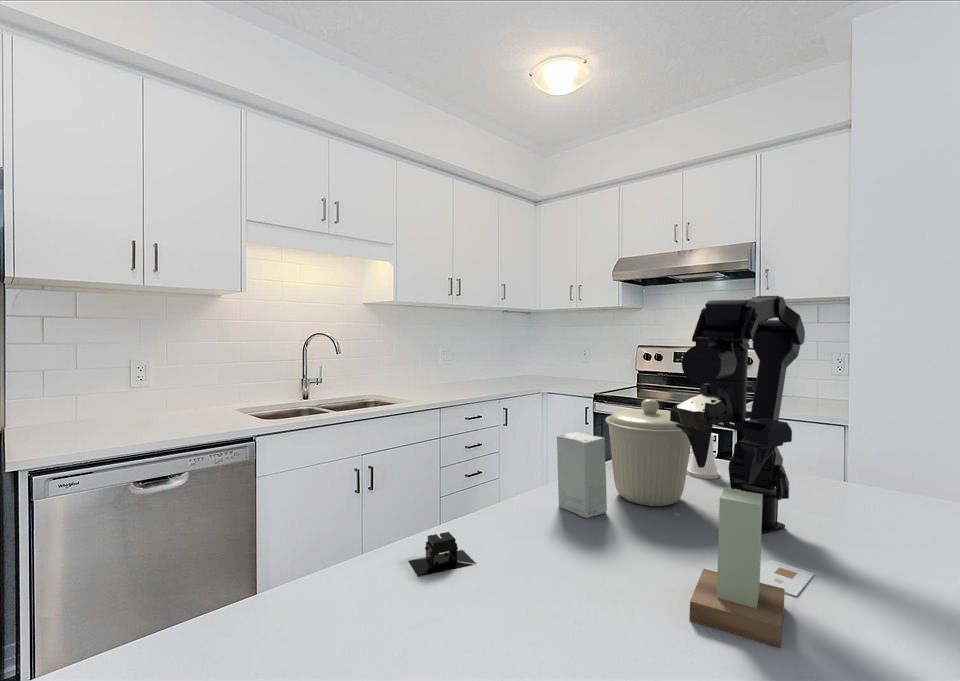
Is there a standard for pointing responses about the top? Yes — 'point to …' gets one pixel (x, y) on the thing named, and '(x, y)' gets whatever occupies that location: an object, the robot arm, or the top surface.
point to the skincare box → (582, 474)
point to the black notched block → (440, 556)
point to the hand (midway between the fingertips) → (724, 475)
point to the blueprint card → (785, 577)
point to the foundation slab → (739, 611)
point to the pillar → (739, 547)
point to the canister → (648, 455)
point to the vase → (710, 466)
